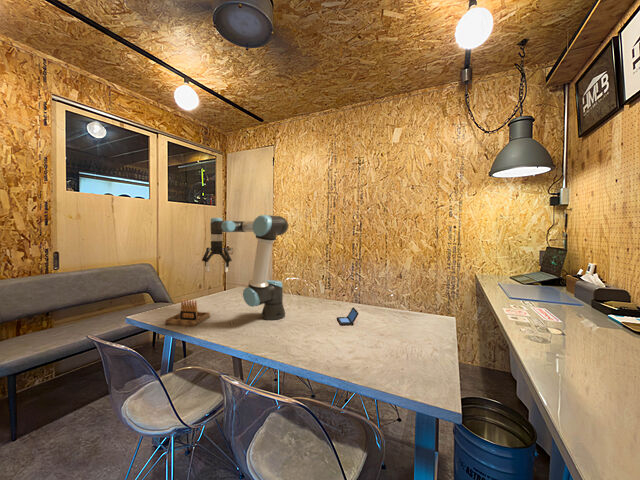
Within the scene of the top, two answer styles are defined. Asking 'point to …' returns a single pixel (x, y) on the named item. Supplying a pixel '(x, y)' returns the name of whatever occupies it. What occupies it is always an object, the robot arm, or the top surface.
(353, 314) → the handheld game console
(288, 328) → the top surface
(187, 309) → the ammunition clip
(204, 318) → the tray
